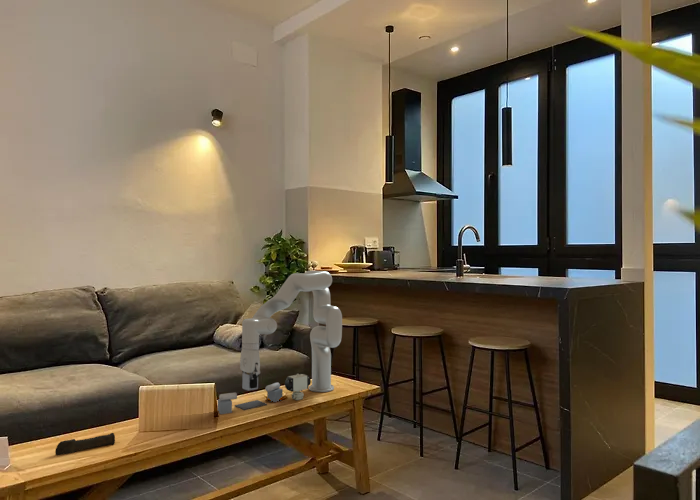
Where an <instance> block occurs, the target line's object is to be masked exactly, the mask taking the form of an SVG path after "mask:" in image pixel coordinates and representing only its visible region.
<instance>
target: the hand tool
mask: <svg viewBox="0 0 700 500" xmlns="http://www.w3.org/2000/svg"><path fill="white" fill-rule="evenodd" d="M115 436H116V435H115V433H114V432H111V433H109V434H103V435H97V436H95V437H89V438H83V439H77V440H76V439H75V438H71V439H67V440H65V439H64V440H62V441H60V442H59V443H58V444H57V445H56V447H55V452H54V453H55V456H58V455H59V456H61V455H68V454H74V453H75V452H77V451H81V450H82V451H83V450H87V449H89V448H90V449H91V448H97V447H102V446H107V445H108V446H109V445H113V446H114V445H115V443H116V437H115Z"/></svg>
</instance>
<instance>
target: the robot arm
mask: <svg viewBox="0 0 700 500" xmlns="http://www.w3.org/2000/svg"><path fill="white" fill-rule="evenodd" d="M332 284H333V277H332V274H331V273H329V272H328V271H325V270H324V271H323V270H307V271H306V272H304V273H302V272H301V273H298V272H295V273H292V274H290V275H288V277H287V278H286V280H285V281H284V283H283V284H282V285H281V287H280V288H279V289H278V290H277V293H276V294H274V296H272V297H271V298H269V299H268V300H266V302H264V303H263V304H262V305H261V306H260V307H259V308H258V309H257V310H256V311H255V313H254V314H253V316H252V317H251V318H245V319H243V320H242V322H241V324H242V325H241V328H242V329H241V351H240V359H239V361H240V362H239V369H240V371H241V373H242V374H243V373H245V372H247V373H251V379H250V388H251V389H252V388H257V379H258V380H259V375H261V370H260V369H261V359H260V335H271V334H273V333H274V332H275V331H276V330H277V328H278V323H277V321H276V320H275V319H274V318H272V316H273V315H275V313H277V312H280V311H282V310H285V309H287V308H289V307H290V306H291V305H292V303H293V302H294V301H295V299H296V297H298V295H299V293H300V292H312V295H313V312H312V313H313V314H312V316H313V319H314V321H315V322H316V323H318V324H322V325H317V326H314V327H313V328H312V329H311V330H310V333H309V339H310V340H309V341H310V345H311V384H310V385H309V387H308V390H309V391H311V392H315V393H327V392H331V391H334V389H335V386H334V385H333V384H332V367H331V366H332V353H331V348H332V349H334V348H337V347H338V346H340V344H341V342H342V337H343V314H342V311H341V309H340V308H339V307H337V306H336V305H335V306H334V305H331V303H332V302H331V292H330V289H329V287H330V286H331V285H332ZM323 325H325V326H323ZM254 373H255V374H254ZM253 374H254V376H253Z"/></svg>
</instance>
